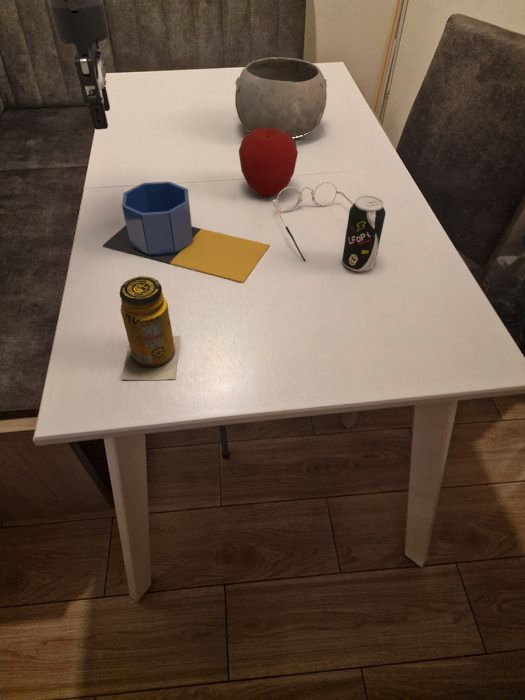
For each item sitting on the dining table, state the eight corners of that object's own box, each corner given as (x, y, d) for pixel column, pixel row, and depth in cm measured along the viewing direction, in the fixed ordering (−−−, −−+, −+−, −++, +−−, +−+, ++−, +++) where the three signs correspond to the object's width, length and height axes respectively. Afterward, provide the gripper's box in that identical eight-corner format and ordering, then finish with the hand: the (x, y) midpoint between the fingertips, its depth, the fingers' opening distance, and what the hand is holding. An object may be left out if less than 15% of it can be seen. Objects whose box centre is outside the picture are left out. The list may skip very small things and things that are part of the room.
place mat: (102, 246, 88) (102, 245, 88) (138, 215, 96) (138, 213, 96) (243, 283, 81) (243, 281, 81) (269, 246, 89) (269, 244, 88)
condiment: (180, 336, 72) (170, 270, 63) (175, 379, 66) (163, 313, 57) (131, 337, 72) (114, 271, 63) (121, 381, 66) (101, 314, 57)
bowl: (273, 158, 114) (274, 90, 104) (217, 128, 127) (213, 64, 116) (341, 134, 125) (349, 69, 114) (284, 108, 137) (286, 48, 126)
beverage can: (379, 272, 83) (393, 209, 75) (347, 276, 82) (358, 213, 74) (367, 253, 87) (379, 191, 79) (337, 257, 86) (346, 195, 78)
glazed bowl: (130, 258, 85) (120, 215, 79) (133, 225, 93) (124, 183, 87) (193, 254, 86) (189, 211, 80) (191, 221, 94) (187, 180, 88)
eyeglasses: (340, 200, 101) (343, 177, 97) (380, 249, 88) (385, 225, 85) (266, 211, 97) (267, 188, 94) (297, 263, 85) (298, 239, 81)
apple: (306, 197, 102) (311, 132, 92) (258, 211, 97) (258, 145, 88) (275, 174, 109) (277, 112, 99) (230, 186, 104) (227, 123, 95)
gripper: (54, -7, 74) (82, 107, 85) (41, 11, 64) (75, 137, 75) (104, -9, 75) (126, 103, 86) (99, 8, 65) (125, 133, 76)
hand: (102, 119), depth 81 cm, fingers open, 8 cm apart
